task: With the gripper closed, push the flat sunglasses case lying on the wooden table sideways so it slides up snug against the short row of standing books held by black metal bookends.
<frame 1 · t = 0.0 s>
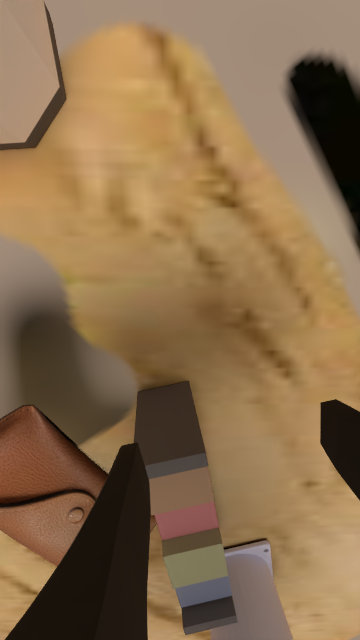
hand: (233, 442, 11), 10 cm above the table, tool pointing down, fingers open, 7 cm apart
sunglasses case: (72, 484, 24), on the table
book row: (182, 467, 24), on the table
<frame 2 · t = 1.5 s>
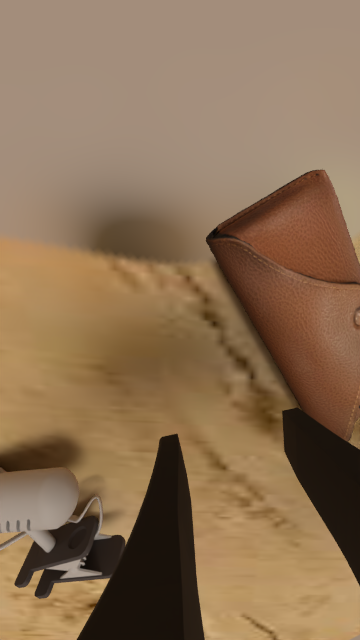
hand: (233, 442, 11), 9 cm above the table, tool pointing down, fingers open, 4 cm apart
clip-on lamp: (6, 500, 23), on the table
sunglasses case: (308, 311, 20), on the table
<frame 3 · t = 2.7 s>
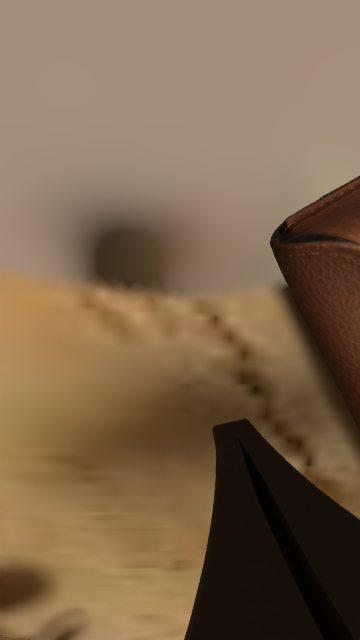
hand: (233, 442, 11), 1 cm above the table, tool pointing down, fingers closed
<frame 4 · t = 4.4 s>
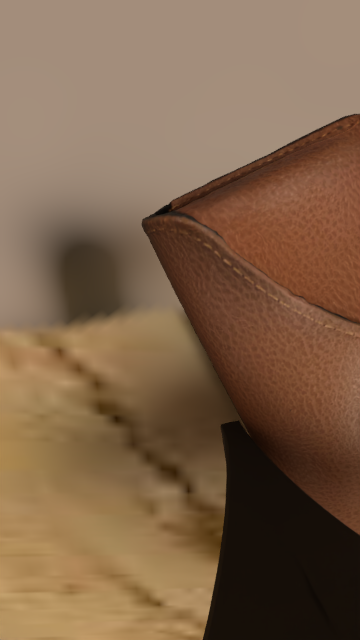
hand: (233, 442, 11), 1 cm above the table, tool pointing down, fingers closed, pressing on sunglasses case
sunglasses case: (316, 362, 13), on the table, touching book row, gripper
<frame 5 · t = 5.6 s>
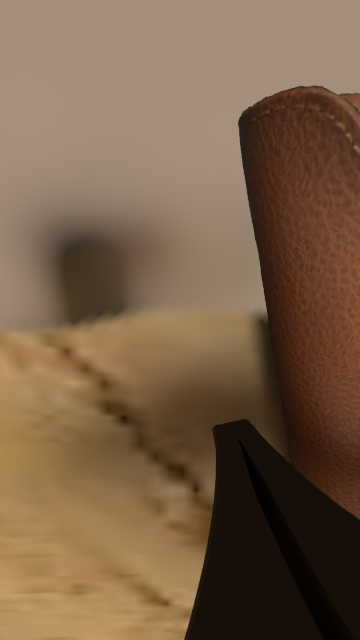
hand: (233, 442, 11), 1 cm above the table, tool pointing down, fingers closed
sunglasses case: (352, 337, 12), on the table
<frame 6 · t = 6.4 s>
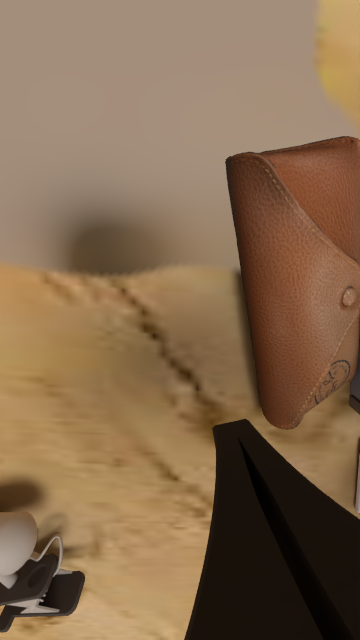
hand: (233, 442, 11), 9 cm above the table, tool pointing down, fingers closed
sunglasses case: (295, 288, 20), on the table
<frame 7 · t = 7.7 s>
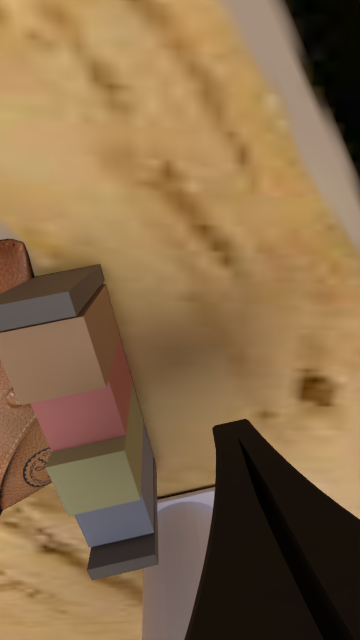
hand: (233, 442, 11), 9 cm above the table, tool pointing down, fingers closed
sunglasses case: (17, 372, 20), on the table
book row: (105, 386, 20), on the table
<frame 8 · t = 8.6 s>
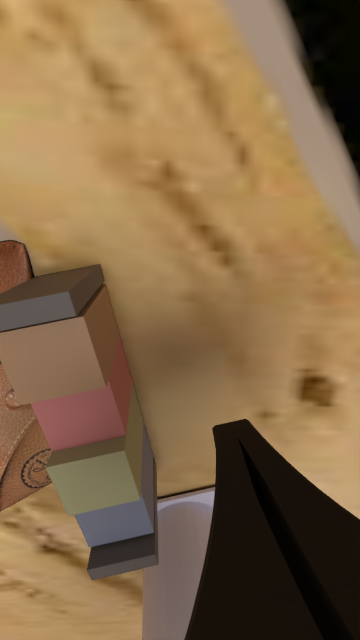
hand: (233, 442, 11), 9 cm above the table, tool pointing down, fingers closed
sunglasses case: (17, 373, 20), on the table
book row: (105, 386, 20), on the table
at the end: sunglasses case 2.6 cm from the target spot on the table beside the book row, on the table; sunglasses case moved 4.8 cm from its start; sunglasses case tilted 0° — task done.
